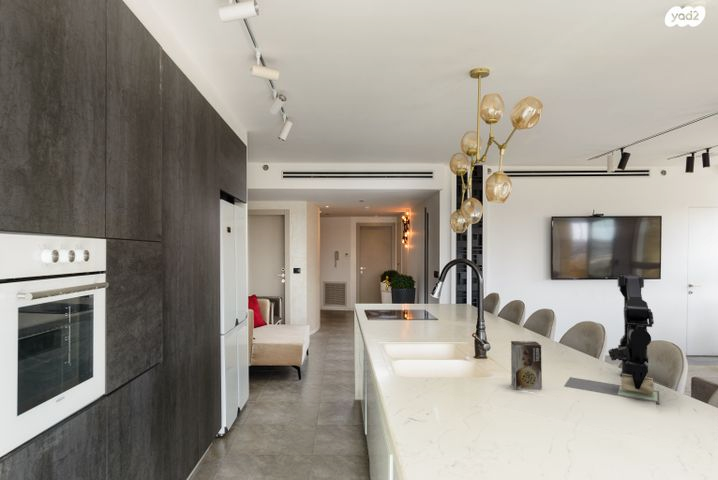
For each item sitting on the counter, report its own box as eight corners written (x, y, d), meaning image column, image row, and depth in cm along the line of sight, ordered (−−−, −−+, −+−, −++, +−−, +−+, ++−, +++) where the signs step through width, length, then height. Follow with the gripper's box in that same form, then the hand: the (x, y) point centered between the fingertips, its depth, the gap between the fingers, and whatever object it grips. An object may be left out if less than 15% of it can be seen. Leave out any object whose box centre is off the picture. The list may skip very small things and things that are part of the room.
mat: (570, 378, 163) (570, 376, 163) (658, 393, 147) (658, 391, 147) (563, 388, 152) (563, 386, 152) (659, 404, 136) (659, 402, 136)
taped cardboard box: (653, 390, 145) (653, 377, 145) (653, 394, 141) (653, 381, 141) (622, 385, 150) (622, 373, 150) (621, 388, 146) (621, 376, 146)
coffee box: (536, 385, 154) (536, 341, 155) (542, 391, 148) (542, 345, 148) (510, 384, 155) (510, 340, 156) (515, 390, 149) (515, 344, 149)
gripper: (612, 334, 158) (612, 376, 157) (607, 342, 142) (608, 389, 142) (648, 338, 151) (648, 382, 151) (647, 347, 136) (648, 396, 136)
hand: (637, 387), depth 145 cm, fingers closed on taped cardboard box, 5 cm apart
